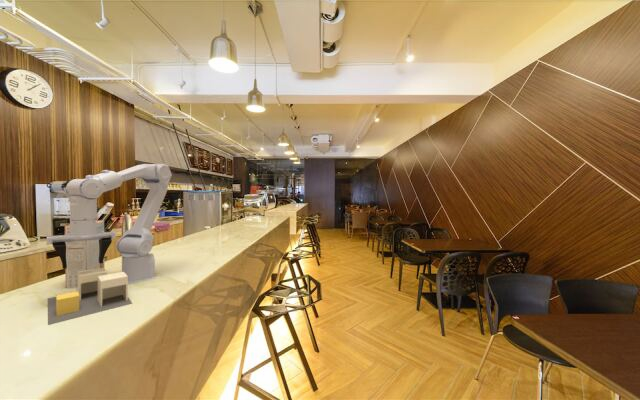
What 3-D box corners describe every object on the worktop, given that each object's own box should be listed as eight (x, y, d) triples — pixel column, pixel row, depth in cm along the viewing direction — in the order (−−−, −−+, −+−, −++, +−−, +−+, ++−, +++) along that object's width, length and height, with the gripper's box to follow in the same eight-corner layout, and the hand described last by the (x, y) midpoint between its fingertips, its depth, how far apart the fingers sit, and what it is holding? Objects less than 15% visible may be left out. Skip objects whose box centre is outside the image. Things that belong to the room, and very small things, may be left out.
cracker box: (84, 276, 90) (85, 220, 90) (105, 274, 93) (105, 220, 92) (63, 290, 77) (63, 225, 77) (87, 288, 80) (87, 224, 79)
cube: (77, 305, 67) (77, 291, 66) (79, 310, 64) (79, 295, 64) (56, 310, 64) (56, 295, 63) (56, 315, 61) (56, 300, 61)
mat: (118, 285, 82) (118, 284, 82) (132, 305, 69) (132, 303, 69) (47, 300, 70) (47, 298, 70) (47, 327, 57) (47, 325, 57)
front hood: (123, 294, 75) (123, 271, 74) (127, 300, 71) (127, 276, 71) (97, 300, 70) (97, 276, 70) (100, 306, 66) (100, 281, 66)
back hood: (103, 289, 78) (103, 267, 78) (106, 294, 74) (106, 271, 74) (77, 294, 74) (77, 271, 73) (79, 300, 70) (79, 276, 69)
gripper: (47, 222, 64) (47, 274, 64) (118, 219, 75) (117, 263, 75) (46, 220, 68) (46, 268, 68) (113, 217, 79) (113, 258, 79)
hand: (83, 265), depth 72 cm, fingers open, 7 cm apart
